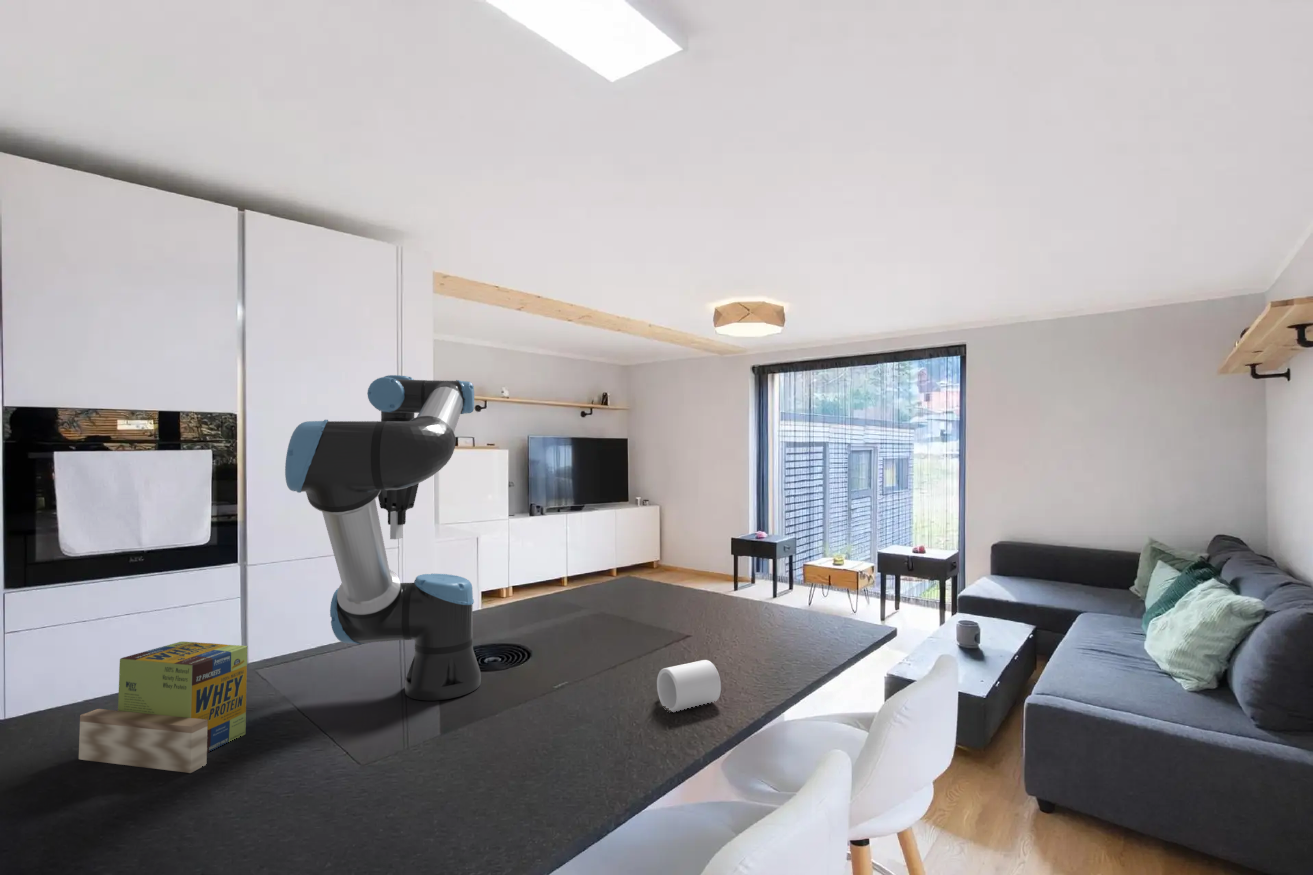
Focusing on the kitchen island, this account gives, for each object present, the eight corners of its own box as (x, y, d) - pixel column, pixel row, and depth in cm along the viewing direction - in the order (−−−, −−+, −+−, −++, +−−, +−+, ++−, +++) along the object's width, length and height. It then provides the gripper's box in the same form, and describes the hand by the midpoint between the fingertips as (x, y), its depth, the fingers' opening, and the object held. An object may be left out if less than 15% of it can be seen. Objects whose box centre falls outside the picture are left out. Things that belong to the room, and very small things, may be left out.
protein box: (189, 763, 96) (192, 664, 97) (114, 753, 100) (117, 658, 100) (247, 734, 106) (249, 645, 107) (177, 726, 110) (180, 639, 110)
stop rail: (206, 764, 96) (207, 719, 96) (190, 772, 93) (191, 726, 93) (96, 751, 100) (97, 708, 100) (78, 759, 97) (80, 715, 98)
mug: (721, 707, 117) (721, 666, 117) (678, 719, 112) (677, 675, 112) (687, 687, 127) (687, 649, 128) (646, 697, 122) (646, 657, 122)
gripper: (430, 440, 148) (429, 537, 147) (383, 441, 151) (382, 536, 150) (412, 439, 141) (411, 541, 140) (363, 440, 143) (361, 539, 143)
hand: (396, 538), depth 145 cm, fingers closed
